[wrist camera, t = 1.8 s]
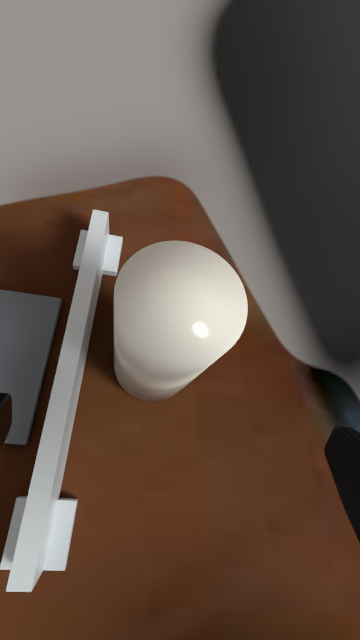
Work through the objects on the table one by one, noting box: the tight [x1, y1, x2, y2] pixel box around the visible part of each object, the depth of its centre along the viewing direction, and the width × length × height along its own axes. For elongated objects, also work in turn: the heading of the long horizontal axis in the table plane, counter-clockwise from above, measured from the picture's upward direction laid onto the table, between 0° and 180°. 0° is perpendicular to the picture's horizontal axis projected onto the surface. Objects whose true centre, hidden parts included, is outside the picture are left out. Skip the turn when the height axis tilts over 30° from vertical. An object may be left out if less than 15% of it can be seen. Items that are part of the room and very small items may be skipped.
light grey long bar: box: [0, 210, 123, 592], centre depth 18 cm, size 20×3×3 cm, turn 176°
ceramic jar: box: [114, 241, 248, 402], centre depth 16 cm, size 5×5×10 cm
